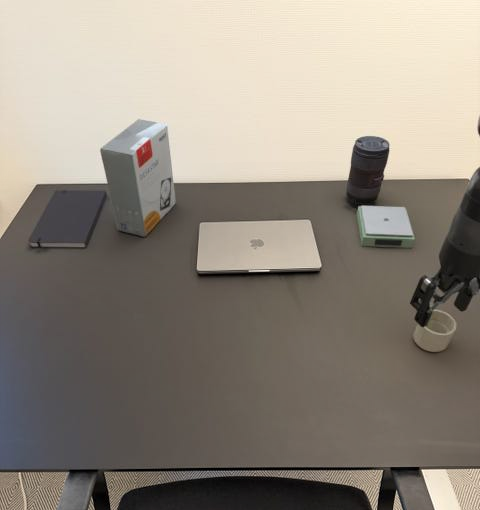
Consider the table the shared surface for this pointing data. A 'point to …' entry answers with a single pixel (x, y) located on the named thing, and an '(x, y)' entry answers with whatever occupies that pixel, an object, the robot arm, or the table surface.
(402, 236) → the scale
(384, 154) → the camera lens
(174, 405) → the table surface
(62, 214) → the notebook
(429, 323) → the beige cup
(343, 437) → the table surface
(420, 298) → the robot arm
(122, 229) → the hard drive box
